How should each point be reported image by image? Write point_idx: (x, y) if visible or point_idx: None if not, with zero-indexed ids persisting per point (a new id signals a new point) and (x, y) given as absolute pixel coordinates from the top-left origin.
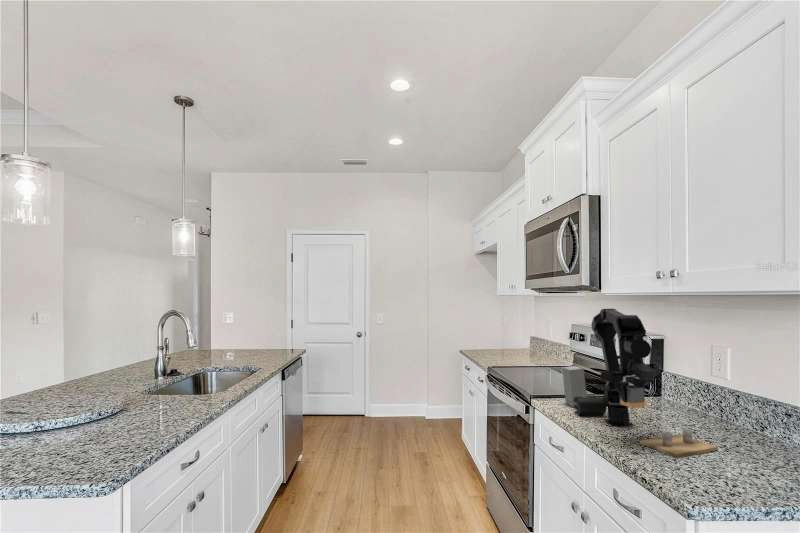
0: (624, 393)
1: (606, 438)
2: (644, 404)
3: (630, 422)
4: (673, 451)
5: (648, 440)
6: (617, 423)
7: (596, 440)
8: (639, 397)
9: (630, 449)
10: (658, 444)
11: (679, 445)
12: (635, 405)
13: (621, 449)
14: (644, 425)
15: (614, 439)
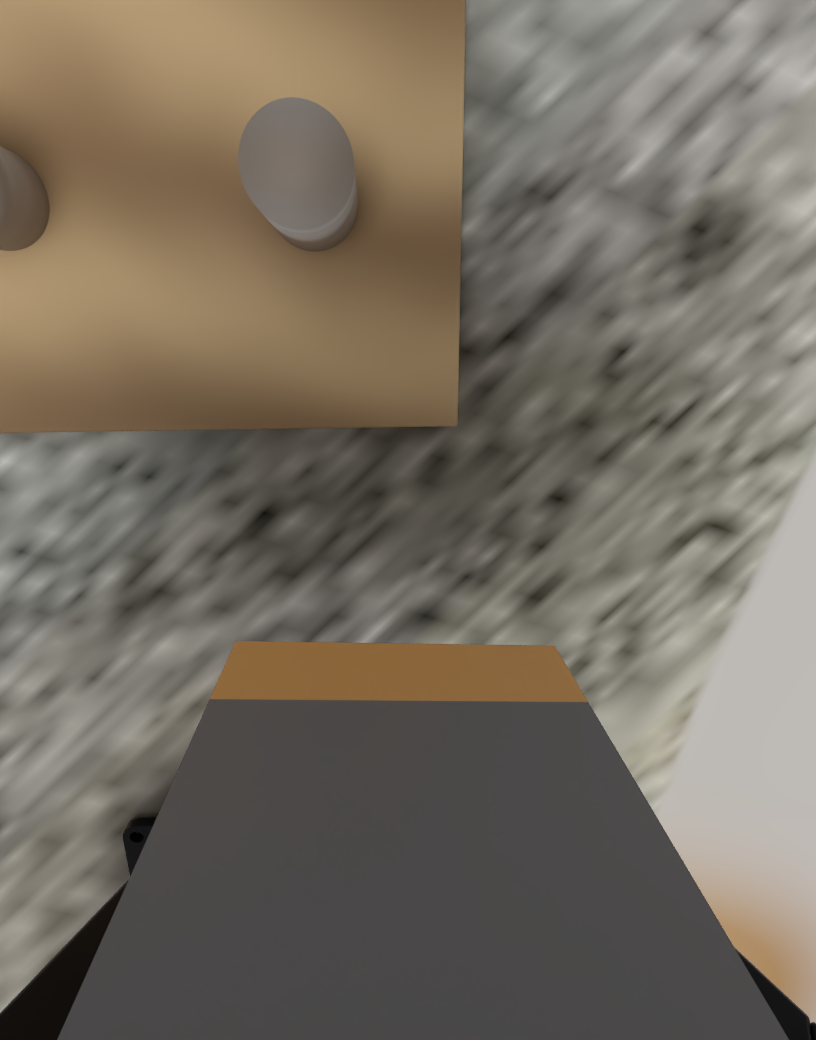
0: (789, 1006)
1: (623, 617)
2: (233, 669)
3: (129, 846)
4: (413, 10)
5: (387, 389)
6: None
7: (739, 603)
8: (348, 792)
9: (667, 328)
10: (386, 258)
11: (188, 144)
12: (474, 668)
13: (739, 357)
14: (31, 781)
15: (581, 578)
